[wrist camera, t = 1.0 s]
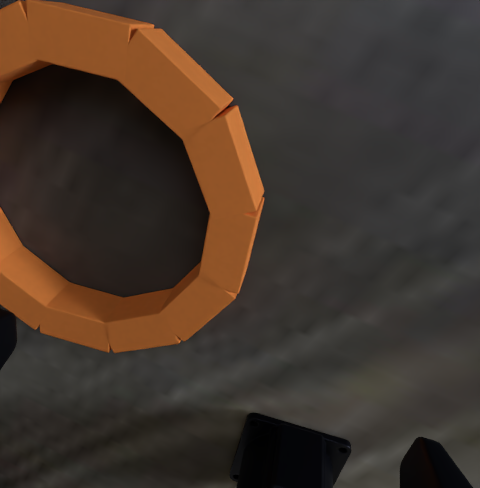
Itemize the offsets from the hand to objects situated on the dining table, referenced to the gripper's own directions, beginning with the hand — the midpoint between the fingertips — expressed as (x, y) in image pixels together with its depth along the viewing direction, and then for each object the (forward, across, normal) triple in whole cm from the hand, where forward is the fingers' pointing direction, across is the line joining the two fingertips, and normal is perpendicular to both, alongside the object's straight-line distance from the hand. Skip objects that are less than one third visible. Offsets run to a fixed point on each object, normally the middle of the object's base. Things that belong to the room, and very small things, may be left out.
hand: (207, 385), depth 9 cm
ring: (+12, +8, +2) cm, 15 cm away
